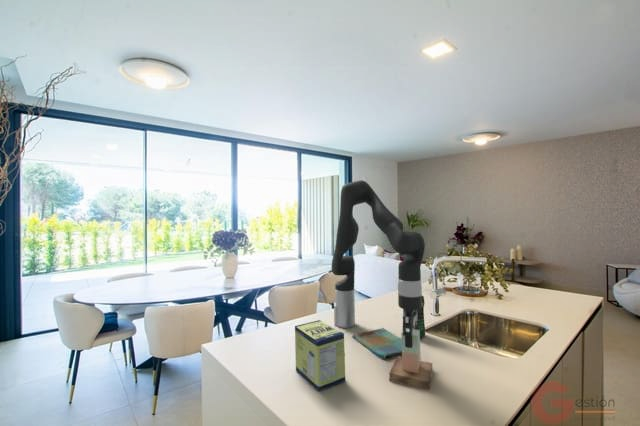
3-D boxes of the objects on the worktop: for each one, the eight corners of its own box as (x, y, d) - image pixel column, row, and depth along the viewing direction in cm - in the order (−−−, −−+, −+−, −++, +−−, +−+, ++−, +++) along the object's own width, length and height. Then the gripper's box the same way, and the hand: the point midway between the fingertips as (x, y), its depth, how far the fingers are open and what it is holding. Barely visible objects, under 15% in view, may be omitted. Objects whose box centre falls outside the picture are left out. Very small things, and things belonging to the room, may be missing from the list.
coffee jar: (428, 337, 127) (427, 294, 127) (413, 340, 124) (412, 296, 124) (414, 329, 136) (413, 289, 136) (399, 332, 133) (398, 291, 134)
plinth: (389, 380, 95) (389, 373, 95) (396, 363, 106) (396, 356, 106) (429, 389, 90) (428, 381, 90) (432, 370, 101) (432, 363, 101)
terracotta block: (402, 370, 97) (401, 351, 97) (404, 363, 101) (404, 345, 101) (418, 373, 95) (417, 354, 95) (420, 365, 99) (419, 348, 99)
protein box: (320, 361, 108) (319, 319, 108) (346, 381, 95) (345, 333, 95) (294, 370, 103) (293, 325, 103) (318, 392, 90) (317, 341, 90)
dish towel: (383, 362, 108) (383, 355, 108) (351, 338, 129) (350, 332, 129) (420, 352, 115) (420, 346, 115) (383, 331, 136) (383, 325, 136)
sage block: (401, 351, 97) (401, 333, 97) (404, 345, 101) (404, 327, 101) (417, 354, 95) (417, 335, 95) (420, 348, 99) (419, 330, 99)
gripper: (418, 299, 90) (420, 353, 90) (424, 288, 103) (425, 335, 103) (394, 297, 93) (395, 349, 93) (402, 286, 106) (403, 332, 106)
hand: (410, 341), depth 98 cm, fingers open, 8 cm apart
